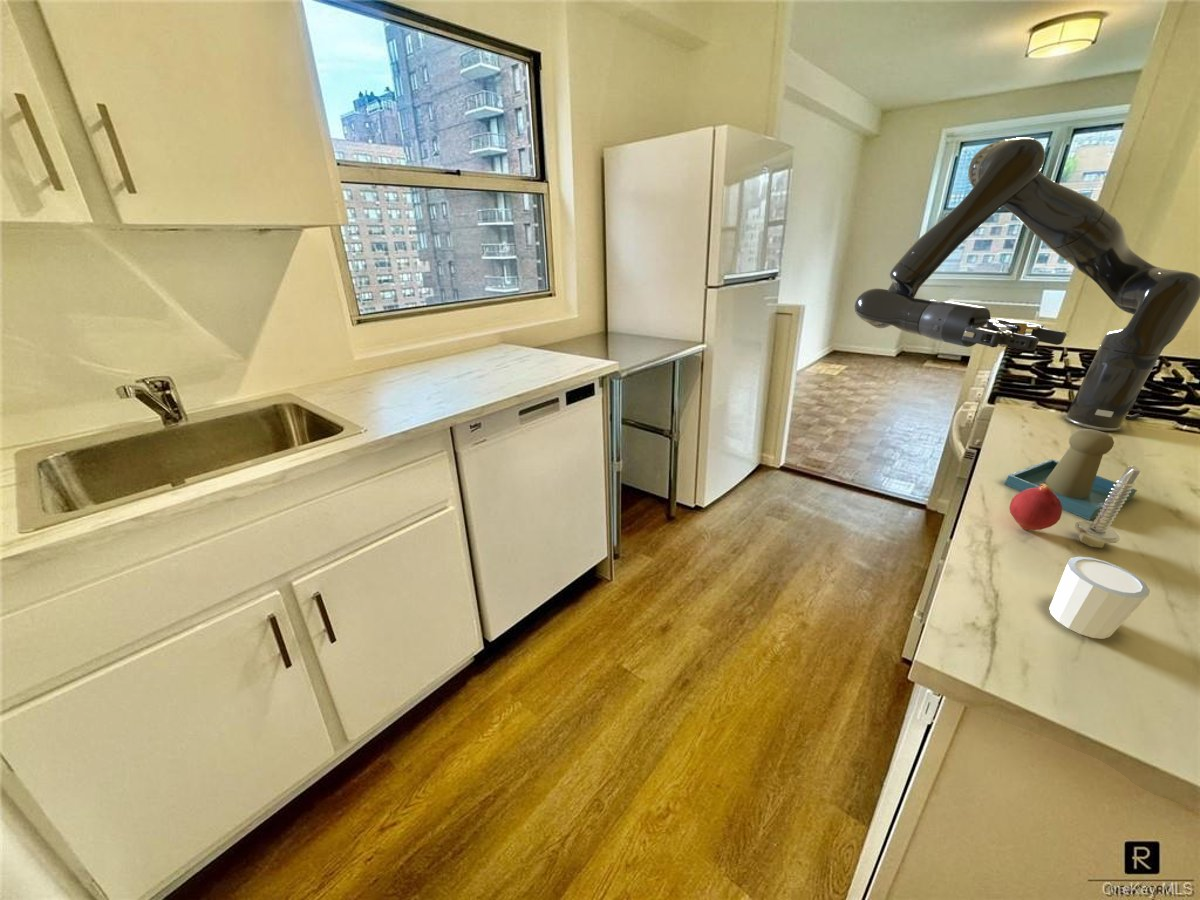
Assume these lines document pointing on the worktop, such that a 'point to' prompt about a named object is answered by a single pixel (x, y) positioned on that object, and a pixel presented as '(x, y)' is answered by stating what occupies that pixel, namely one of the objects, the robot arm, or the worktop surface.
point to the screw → (1108, 513)
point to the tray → (1076, 506)
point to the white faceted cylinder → (1096, 597)
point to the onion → (1036, 508)
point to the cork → (1080, 463)
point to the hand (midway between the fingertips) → (1050, 341)
